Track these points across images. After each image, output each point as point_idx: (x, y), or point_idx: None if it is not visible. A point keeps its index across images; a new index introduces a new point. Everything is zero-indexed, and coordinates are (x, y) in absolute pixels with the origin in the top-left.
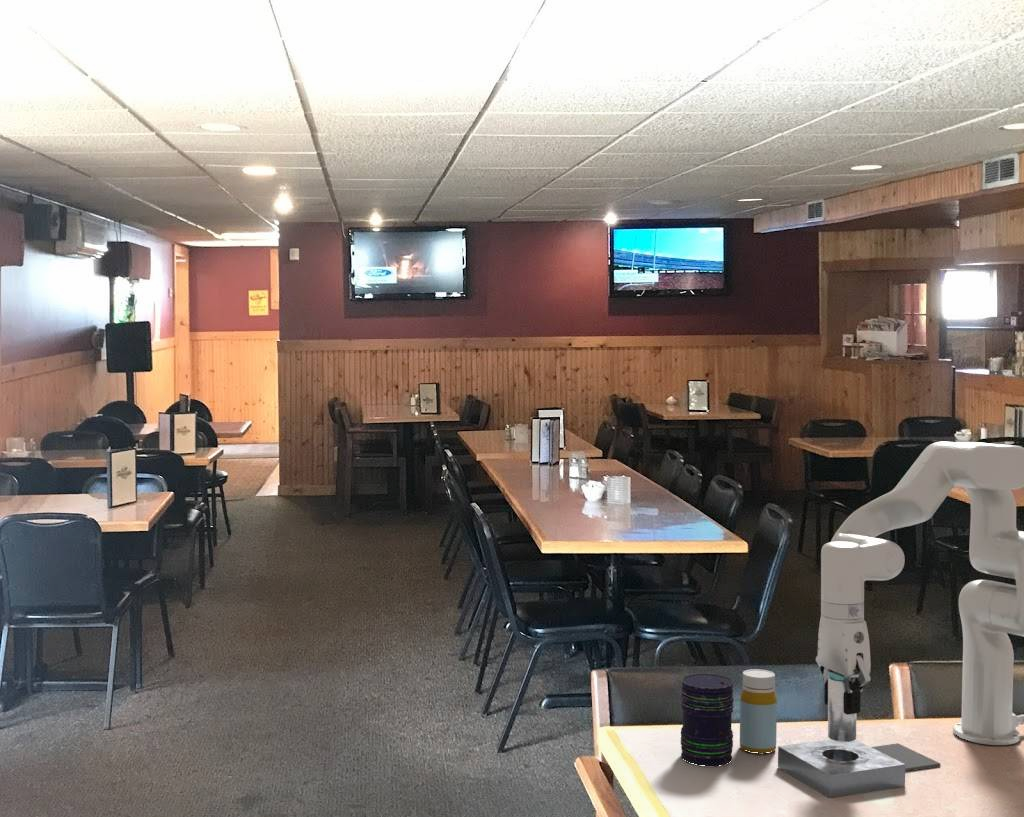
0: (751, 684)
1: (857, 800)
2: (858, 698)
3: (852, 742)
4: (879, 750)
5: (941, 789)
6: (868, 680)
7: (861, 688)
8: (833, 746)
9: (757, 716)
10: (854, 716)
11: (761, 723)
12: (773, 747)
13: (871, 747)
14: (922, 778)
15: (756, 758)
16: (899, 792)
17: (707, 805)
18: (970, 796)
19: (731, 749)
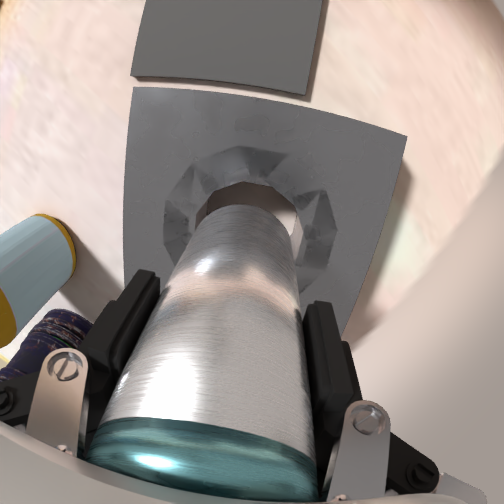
0: None
1: (368, 286)
2: (356, 385)
3: (177, 115)
4: (174, 1)
5: (435, 81)
6: (473, 498)
7: (400, 447)
8: (178, 197)
9: (31, 317)
10: (298, 294)
11: (41, 303)
12: (67, 242)
13: (147, 7)
14: (369, 49)
15: (90, 283)
16: (398, 175)
17: None
18: (481, 76)
19: (80, 335)
